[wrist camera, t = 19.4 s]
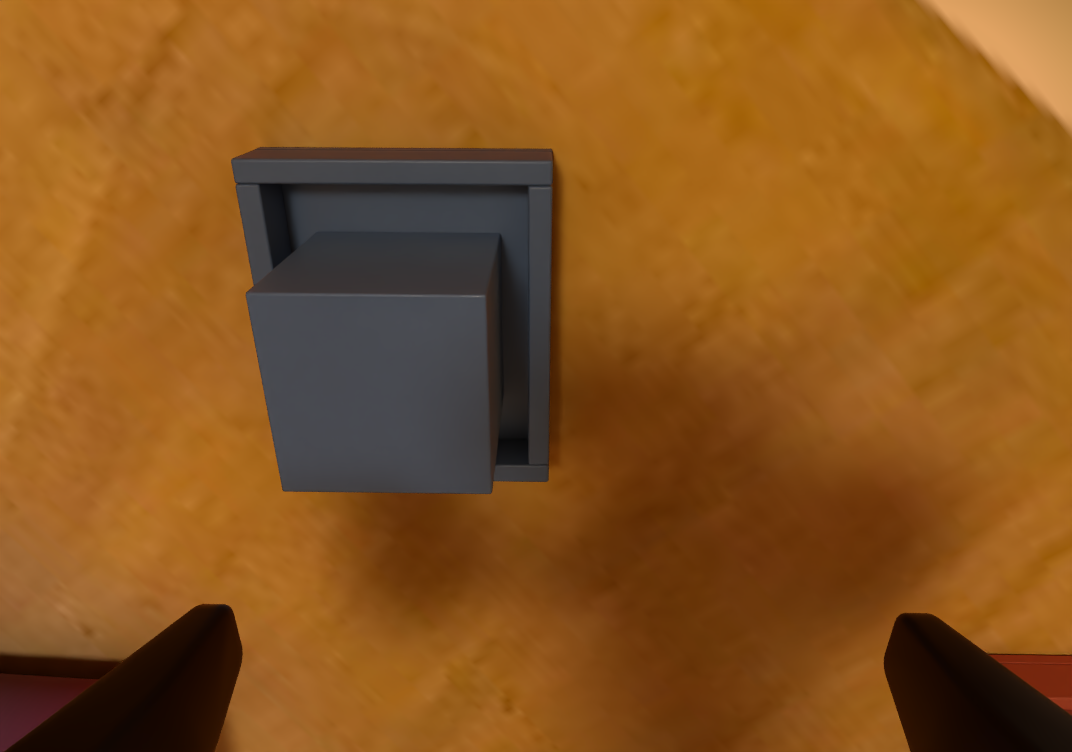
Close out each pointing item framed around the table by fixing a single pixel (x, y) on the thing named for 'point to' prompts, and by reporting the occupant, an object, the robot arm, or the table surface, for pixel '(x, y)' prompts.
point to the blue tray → (437, 207)
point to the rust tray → (1043, 674)
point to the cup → (32, 702)
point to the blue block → (383, 361)
